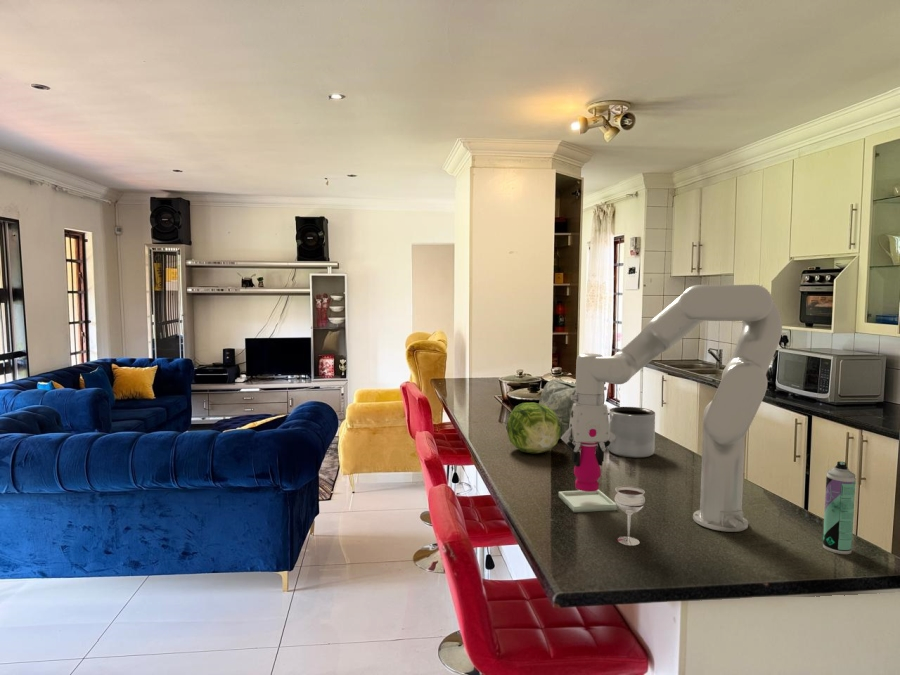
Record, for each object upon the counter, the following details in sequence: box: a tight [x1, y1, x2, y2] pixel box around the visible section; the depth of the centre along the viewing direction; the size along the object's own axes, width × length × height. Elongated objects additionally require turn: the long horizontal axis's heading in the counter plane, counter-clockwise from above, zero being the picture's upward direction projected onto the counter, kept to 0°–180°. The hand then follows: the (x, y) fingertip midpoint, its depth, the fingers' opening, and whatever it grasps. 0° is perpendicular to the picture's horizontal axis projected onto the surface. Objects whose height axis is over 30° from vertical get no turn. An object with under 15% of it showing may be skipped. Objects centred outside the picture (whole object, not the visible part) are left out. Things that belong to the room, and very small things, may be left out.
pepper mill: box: [573, 429, 602, 491], centre depth 161 cm, size 7×7×20 cm
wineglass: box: [614, 485, 646, 546], centre depth 137 cm, size 7×7×12 cm
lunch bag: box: [538, 378, 576, 441], centre depth 240 cm, size 26×18×22 cm
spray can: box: [822, 460, 857, 555], centre depth 133 cm, size 6×6×20 cm
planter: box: [607, 406, 656, 459], centre depth 213 cm, size 16×16×16 cm
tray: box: [558, 489, 618, 513], centre depth 162 cm, size 12×12×2 cm
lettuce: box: [506, 401, 561, 454], centre depth 213 cm, size 19×23×18 cm
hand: (587, 464), depth 161 cm, fingers closed on pepper mill, 5 cm apart
